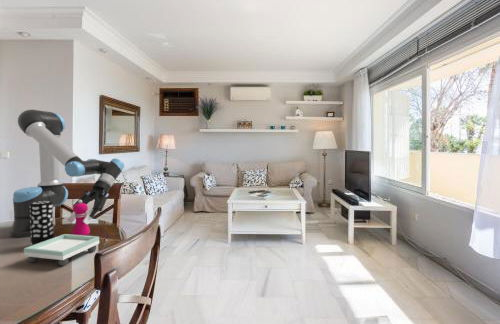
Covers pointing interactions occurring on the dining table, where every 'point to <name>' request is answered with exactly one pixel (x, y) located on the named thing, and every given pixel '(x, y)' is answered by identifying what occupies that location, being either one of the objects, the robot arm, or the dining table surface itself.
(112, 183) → the robot arm
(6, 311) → the dining table surface
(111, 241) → the dining table surface
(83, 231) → the pepper mill
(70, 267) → the dining table surface
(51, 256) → the rolling base
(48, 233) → the white-spotted black cylinder
